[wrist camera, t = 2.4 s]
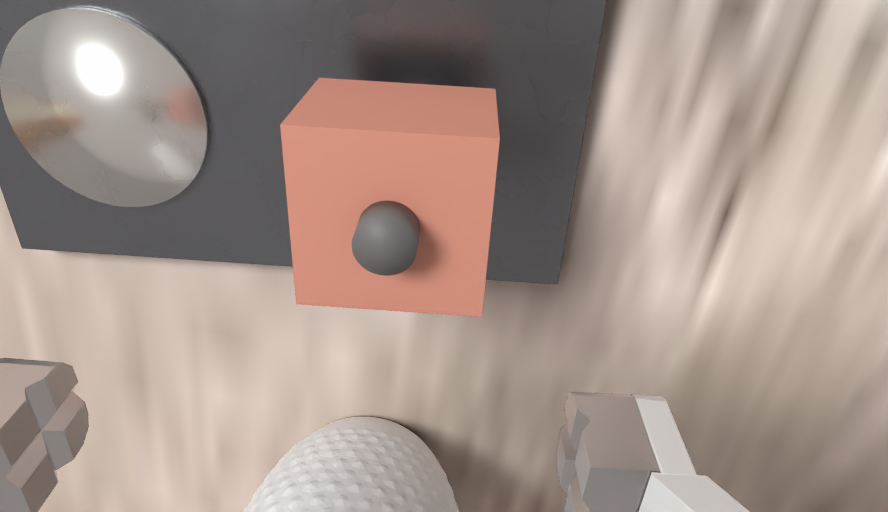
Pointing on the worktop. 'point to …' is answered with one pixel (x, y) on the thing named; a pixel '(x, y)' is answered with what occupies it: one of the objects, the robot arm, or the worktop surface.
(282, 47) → the base
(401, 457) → the mug
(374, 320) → the worktop surface
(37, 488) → the robot arm
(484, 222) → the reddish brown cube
